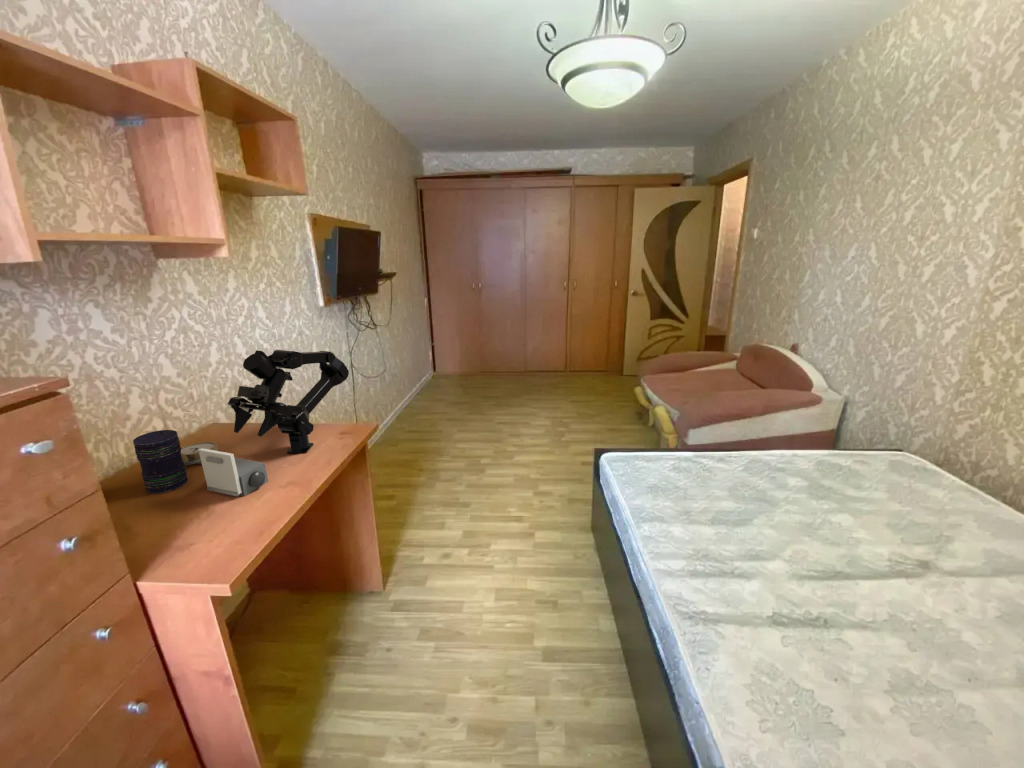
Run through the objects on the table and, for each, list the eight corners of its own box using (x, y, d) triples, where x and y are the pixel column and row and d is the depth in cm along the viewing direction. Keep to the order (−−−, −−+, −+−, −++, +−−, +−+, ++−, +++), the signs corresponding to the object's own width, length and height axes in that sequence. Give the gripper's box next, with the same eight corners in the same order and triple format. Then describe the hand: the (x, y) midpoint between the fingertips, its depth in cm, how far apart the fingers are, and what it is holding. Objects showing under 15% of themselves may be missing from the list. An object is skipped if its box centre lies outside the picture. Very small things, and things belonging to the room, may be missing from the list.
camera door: (211, 487, 122) (201, 448, 118) (242, 494, 119) (233, 453, 115) (205, 491, 120) (195, 451, 117) (236, 497, 118) (227, 457, 114)
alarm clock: (221, 439, 147) (208, 451, 133) (223, 453, 148) (210, 466, 134) (181, 444, 143) (163, 457, 129) (184, 458, 144) (166, 472, 130)
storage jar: (176, 492, 121) (164, 443, 116) (136, 495, 119) (123, 445, 115) (195, 474, 130) (185, 428, 126) (159, 476, 129) (147, 430, 124)
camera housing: (236, 475, 130) (232, 457, 128) (271, 482, 126) (268, 463, 125) (211, 488, 123) (207, 470, 121) (248, 496, 119) (244, 477, 117)
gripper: (227, 370, 127) (199, 419, 121) (279, 376, 122) (253, 427, 116) (253, 388, 137) (229, 434, 130) (303, 394, 132) (280, 442, 125)
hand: (247, 434), depth 125 cm, fingers open, 8 cm apart
